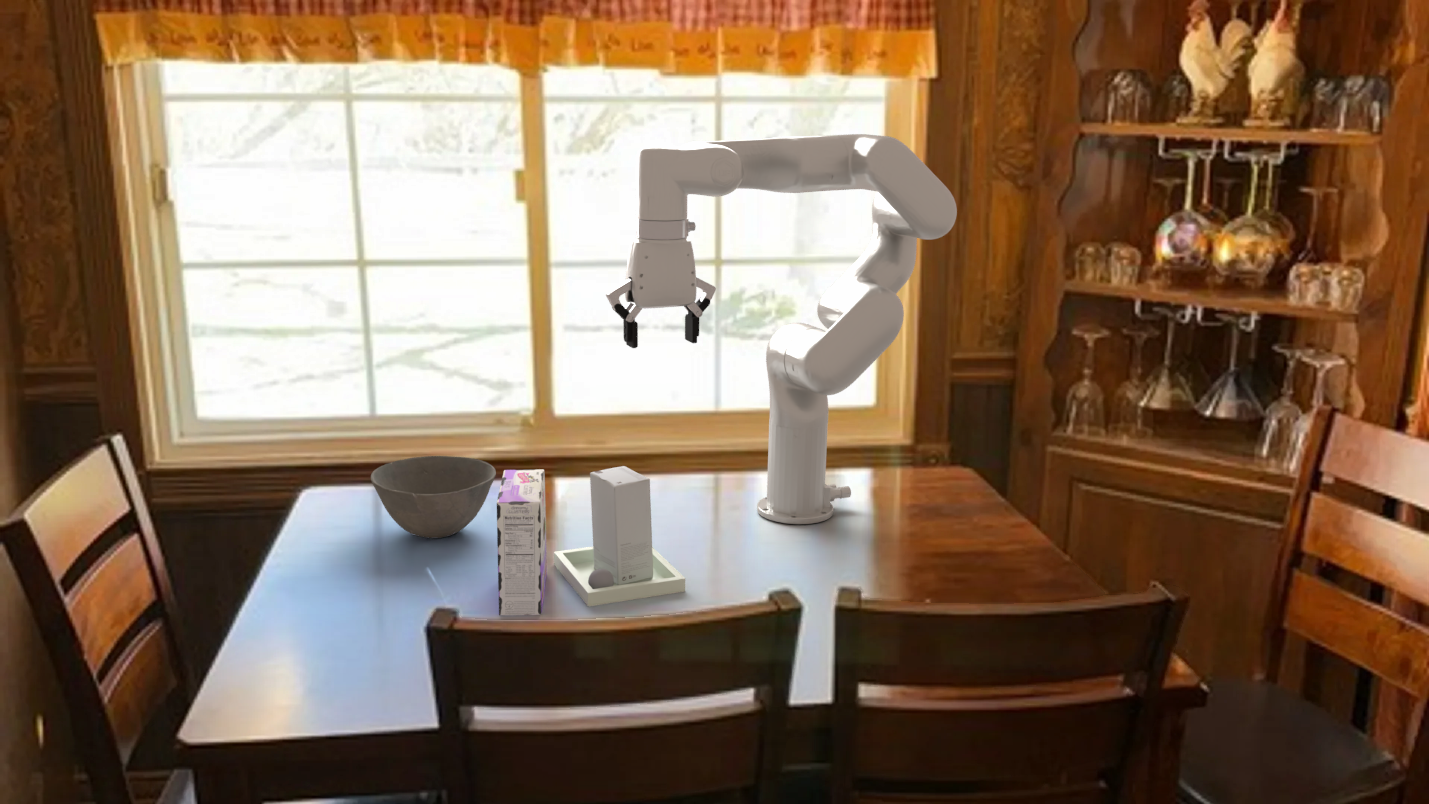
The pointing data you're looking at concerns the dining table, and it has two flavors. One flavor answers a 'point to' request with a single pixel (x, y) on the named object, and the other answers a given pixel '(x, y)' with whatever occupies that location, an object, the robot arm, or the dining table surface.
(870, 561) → the dining table surface
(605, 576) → the ball
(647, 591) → the tray
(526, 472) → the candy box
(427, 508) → the bowl
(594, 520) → the skincare box
